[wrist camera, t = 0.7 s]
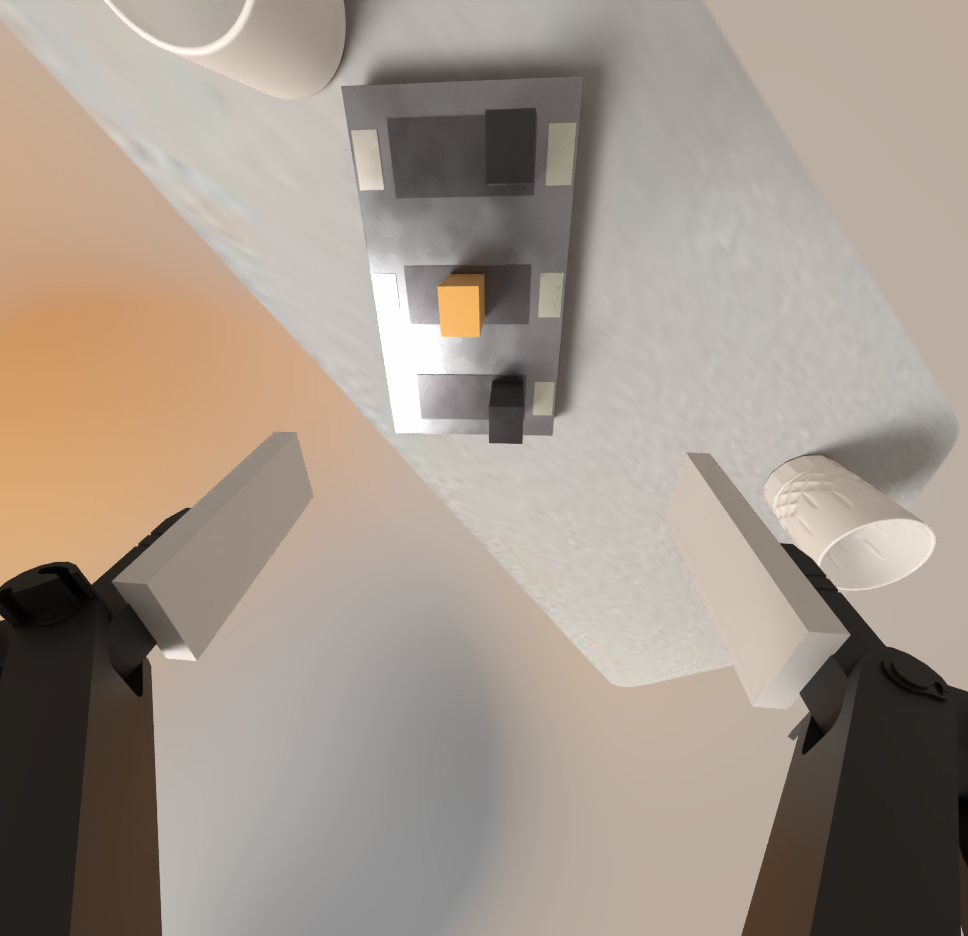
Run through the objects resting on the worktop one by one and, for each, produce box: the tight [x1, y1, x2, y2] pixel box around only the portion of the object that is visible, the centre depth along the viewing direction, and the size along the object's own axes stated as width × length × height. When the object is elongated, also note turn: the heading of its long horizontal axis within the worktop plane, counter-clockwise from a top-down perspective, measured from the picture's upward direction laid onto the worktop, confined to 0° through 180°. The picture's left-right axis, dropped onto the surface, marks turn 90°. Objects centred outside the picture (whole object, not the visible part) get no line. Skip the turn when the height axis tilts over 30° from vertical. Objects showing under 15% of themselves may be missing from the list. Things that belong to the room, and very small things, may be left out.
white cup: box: [764, 455, 936, 590], centre depth 35 cm, size 8×8×10 cm
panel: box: [341, 76, 584, 444], centre depth 28 cm, size 23×14×8 cm, turn 1°
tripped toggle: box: [437, 274, 485, 337], centre depth 27 cm, size 3×2×5 cm
